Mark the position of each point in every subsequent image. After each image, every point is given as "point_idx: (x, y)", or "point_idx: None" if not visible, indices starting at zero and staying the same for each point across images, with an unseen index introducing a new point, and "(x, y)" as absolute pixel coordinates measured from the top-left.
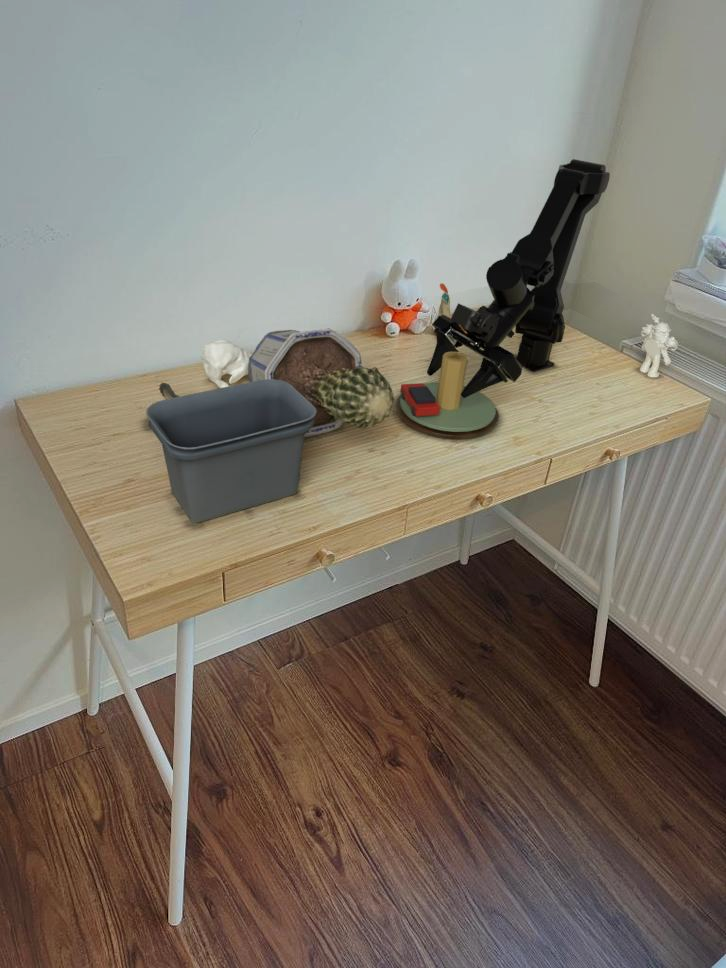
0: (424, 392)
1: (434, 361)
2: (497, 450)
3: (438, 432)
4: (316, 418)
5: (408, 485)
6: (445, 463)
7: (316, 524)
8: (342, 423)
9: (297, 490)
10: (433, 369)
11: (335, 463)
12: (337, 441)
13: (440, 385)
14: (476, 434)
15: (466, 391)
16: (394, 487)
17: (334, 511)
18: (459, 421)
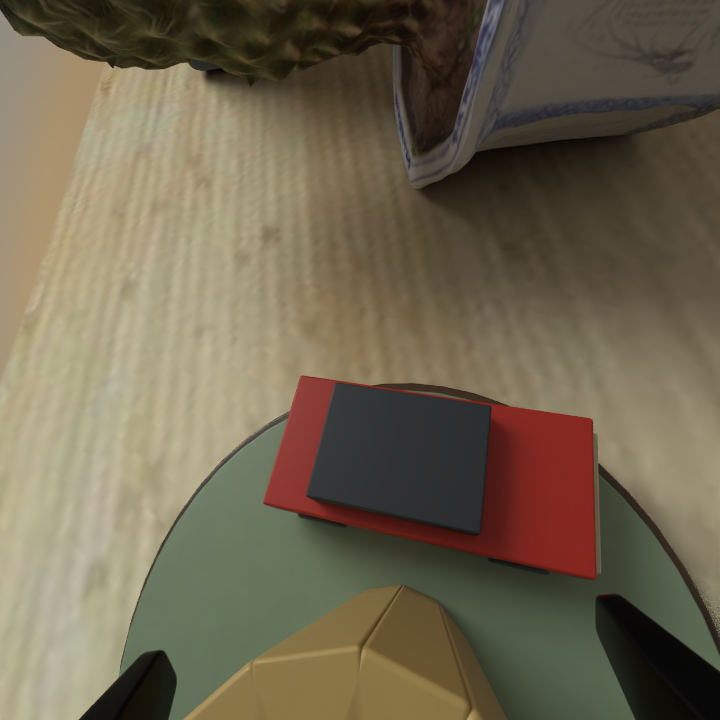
0: (399, 466)
1: (702, 716)
2: (9, 686)
3: None
4: (416, 95)
5: (86, 262)
6: (91, 404)
7: (111, 91)
8: (417, 187)
9: (189, 63)
10: (631, 675)
11: (260, 150)
12: (350, 174)
13: (389, 597)
14: (123, 652)
15: (101, 701)
16: (102, 231)
17: (120, 118)
18: (205, 604)
